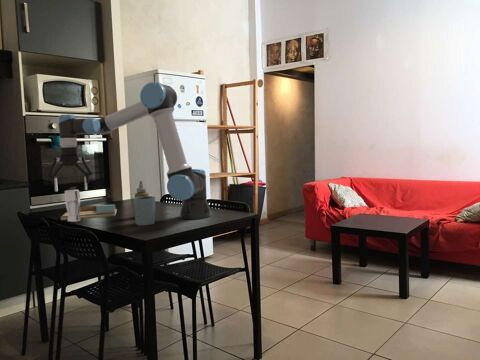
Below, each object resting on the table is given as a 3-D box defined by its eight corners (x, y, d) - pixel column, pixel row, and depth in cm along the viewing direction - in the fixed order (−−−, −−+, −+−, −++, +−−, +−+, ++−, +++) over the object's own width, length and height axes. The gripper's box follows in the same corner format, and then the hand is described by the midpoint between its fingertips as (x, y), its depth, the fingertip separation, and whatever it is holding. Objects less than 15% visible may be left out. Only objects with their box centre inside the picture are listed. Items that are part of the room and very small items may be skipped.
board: (114, 216, 217) (114, 208, 216) (60, 220, 211) (60, 212, 210) (116, 211, 233) (116, 204, 233) (66, 214, 227) (66, 207, 227)
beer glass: (84, 219, 210) (82, 189, 209) (75, 222, 203) (73, 191, 202) (72, 219, 212) (70, 189, 210) (63, 221, 205) (61, 191, 204)
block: (114, 212, 218) (114, 205, 218) (96, 214, 216) (96, 206, 216) (115, 212, 220) (114, 204, 220) (97, 213, 218) (96, 205, 217)
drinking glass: (134, 226, 188) (133, 199, 186) (133, 222, 197) (132, 196, 196) (157, 224, 190) (156, 197, 189) (155, 220, 200) (154, 195, 199)
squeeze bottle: (147, 218, 206) (145, 181, 205) (131, 218, 208) (129, 182, 206) (153, 215, 214) (151, 180, 213) (139, 215, 216) (137, 180, 214)
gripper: (96, 146, 211) (98, 188, 213) (42, 147, 205) (45, 191, 207) (95, 146, 203) (97, 190, 205) (39, 147, 198) (42, 192, 200)
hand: (71, 190), depth 206 cm, fingers open, 13 cm apart
